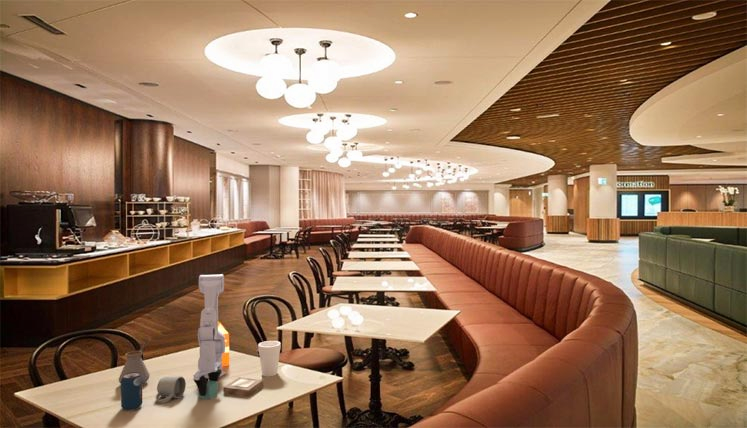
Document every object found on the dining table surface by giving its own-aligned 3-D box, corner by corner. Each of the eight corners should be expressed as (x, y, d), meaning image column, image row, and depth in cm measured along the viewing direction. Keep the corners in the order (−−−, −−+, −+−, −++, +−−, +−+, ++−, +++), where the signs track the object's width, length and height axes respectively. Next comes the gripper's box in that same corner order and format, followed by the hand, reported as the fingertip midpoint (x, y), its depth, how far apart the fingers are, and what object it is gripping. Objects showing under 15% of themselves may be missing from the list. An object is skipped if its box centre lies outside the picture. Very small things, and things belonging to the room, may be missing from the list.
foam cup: (283, 370, 214) (283, 341, 214) (277, 377, 205) (277, 347, 205) (262, 369, 215) (262, 340, 215) (255, 377, 206) (255, 346, 206)
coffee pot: (143, 389, 193) (142, 351, 193) (113, 390, 192) (112, 352, 192) (162, 370, 215) (161, 336, 214) (135, 371, 214) (134, 337, 213)
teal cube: (198, 397, 185) (198, 384, 185) (206, 392, 190) (206, 380, 190) (209, 399, 184) (209, 386, 183) (217, 394, 188) (217, 381, 188)
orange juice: (222, 360, 228) (221, 317, 228) (229, 365, 222) (229, 321, 221) (205, 363, 223) (205, 320, 223) (212, 368, 217) (212, 324, 216)
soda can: (145, 407, 176) (145, 374, 176) (125, 413, 171) (125, 379, 171) (137, 401, 181) (137, 370, 181) (118, 407, 176) (117, 375, 176)
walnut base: (223, 394, 189) (223, 386, 189) (239, 384, 199) (239, 376, 199) (248, 398, 185) (248, 389, 185) (263, 387, 196) (263, 379, 196)
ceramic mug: (167, 391, 191) (167, 372, 191) (186, 393, 189) (185, 373, 189) (150, 403, 180) (149, 382, 180) (169, 404, 179) (169, 384, 178)
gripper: (204, 364, 178) (205, 400, 178) (227, 352, 192) (228, 386, 192) (188, 362, 180) (189, 398, 181) (212, 350, 194) (212, 384, 194)
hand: (208, 392), depth 187 cm, fingers open, 6 cm apart
